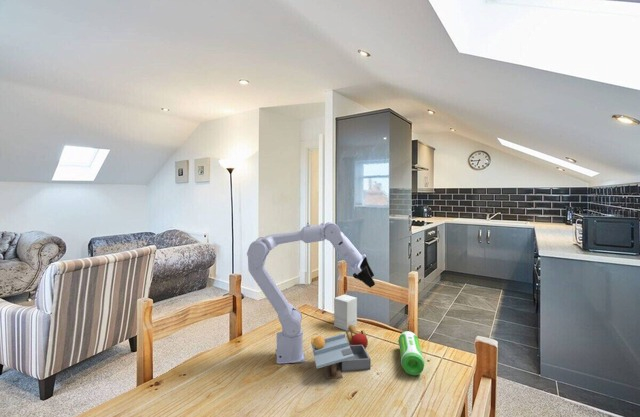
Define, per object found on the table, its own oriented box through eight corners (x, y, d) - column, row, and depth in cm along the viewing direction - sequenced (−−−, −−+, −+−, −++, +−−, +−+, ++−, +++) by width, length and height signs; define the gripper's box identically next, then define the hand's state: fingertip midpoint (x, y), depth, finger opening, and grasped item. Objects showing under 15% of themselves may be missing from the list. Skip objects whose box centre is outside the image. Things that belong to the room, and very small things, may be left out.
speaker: (397, 348, 112) (398, 328, 111) (418, 350, 110) (418, 330, 110) (401, 375, 94) (401, 352, 94) (425, 378, 93) (425, 355, 93)
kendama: (340, 335, 124) (349, 351, 106) (343, 319, 125) (352, 333, 107) (358, 338, 125) (370, 354, 107) (361, 322, 126) (372, 336, 108)
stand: (326, 379, 92) (326, 363, 92) (322, 361, 102) (322, 347, 102) (342, 377, 93) (342, 362, 93) (336, 360, 103) (336, 346, 103)
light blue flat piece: (316, 368, 90) (315, 361, 90) (312, 347, 103) (310, 341, 103) (354, 357, 92) (353, 350, 92) (345, 338, 104) (344, 332, 104)
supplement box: (357, 326, 130) (357, 297, 129) (346, 331, 125) (347, 301, 124) (344, 321, 135) (344, 293, 135) (333, 326, 130) (333, 297, 129)
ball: (314, 352, 98) (312, 341, 97) (313, 346, 102) (311, 335, 101) (326, 350, 98) (324, 338, 98) (324, 344, 102) (323, 333, 102)
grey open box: (342, 371, 96) (342, 361, 96) (336, 355, 106) (336, 346, 106) (370, 369, 98) (370, 359, 97) (362, 354, 107) (362, 344, 107)
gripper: (356, 250, 96) (383, 283, 96) (357, 239, 110) (380, 267, 110) (339, 263, 97) (365, 295, 98) (342, 250, 111) (365, 277, 112)
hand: (372, 281), depth 104 cm, fingers open, 7 cm apart
